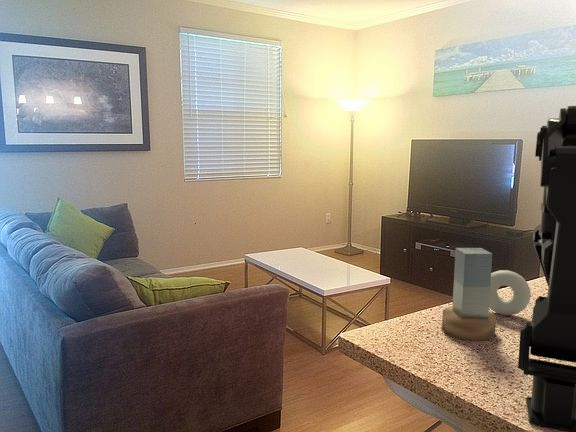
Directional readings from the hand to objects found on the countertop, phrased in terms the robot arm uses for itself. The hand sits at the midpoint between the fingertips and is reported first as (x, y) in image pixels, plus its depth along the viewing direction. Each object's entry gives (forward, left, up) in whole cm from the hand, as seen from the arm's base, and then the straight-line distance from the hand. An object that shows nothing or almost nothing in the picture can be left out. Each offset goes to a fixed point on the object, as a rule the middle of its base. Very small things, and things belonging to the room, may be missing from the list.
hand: (555, 295), depth 76 cm
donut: (+26, +6, -13) cm, 30 cm away
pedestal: (+13, +13, -13) cm, 23 cm away
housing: (+13, +13, -10) cm, 21 cm away
